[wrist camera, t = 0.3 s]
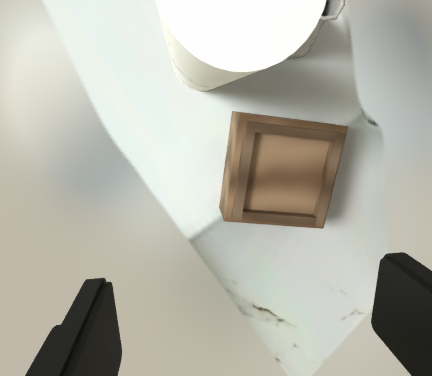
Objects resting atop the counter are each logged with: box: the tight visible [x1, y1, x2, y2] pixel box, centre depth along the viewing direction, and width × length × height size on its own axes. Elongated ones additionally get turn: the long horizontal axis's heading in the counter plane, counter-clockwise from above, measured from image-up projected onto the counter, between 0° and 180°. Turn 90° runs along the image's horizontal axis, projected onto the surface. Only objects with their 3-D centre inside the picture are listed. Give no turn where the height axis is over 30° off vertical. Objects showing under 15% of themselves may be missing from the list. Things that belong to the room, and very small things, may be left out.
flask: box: [286, 0, 345, 59], centre depth 31 cm, size 7×7×10 cm
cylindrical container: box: [156, 0, 326, 91], centre depth 23 cm, size 7×7×25 cm
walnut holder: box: [219, 111, 348, 228], centre depth 37 cm, size 13×13×6 cm
